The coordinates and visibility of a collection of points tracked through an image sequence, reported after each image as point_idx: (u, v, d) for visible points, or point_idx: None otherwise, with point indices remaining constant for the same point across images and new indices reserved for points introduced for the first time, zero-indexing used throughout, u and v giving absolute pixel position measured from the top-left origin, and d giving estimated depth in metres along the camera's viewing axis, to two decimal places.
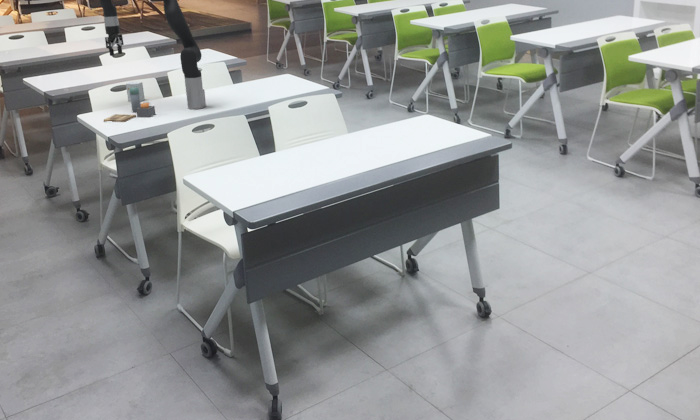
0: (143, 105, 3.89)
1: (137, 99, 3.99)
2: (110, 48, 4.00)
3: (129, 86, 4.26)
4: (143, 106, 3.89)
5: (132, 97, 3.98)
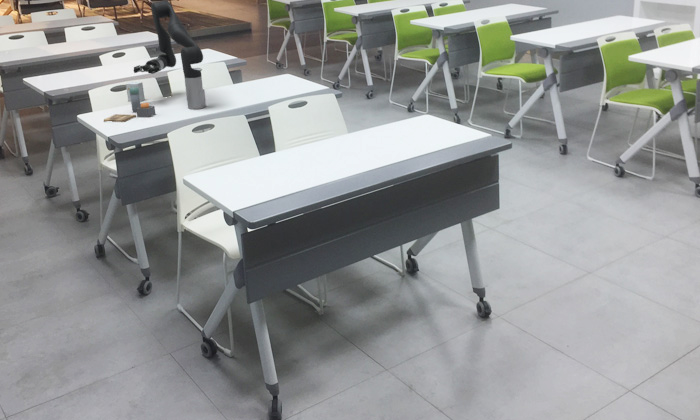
0: (143, 105, 3.89)
1: (137, 99, 3.99)
2: None
3: (129, 86, 4.26)
4: (143, 106, 3.89)
5: (132, 97, 3.98)
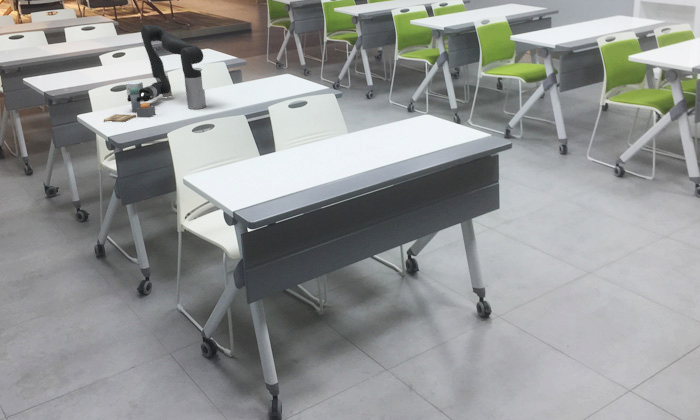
0: (143, 105, 3.89)
1: None
2: (129, 96, 4.03)
3: (129, 86, 4.26)
4: (143, 106, 3.89)
5: (132, 97, 3.98)
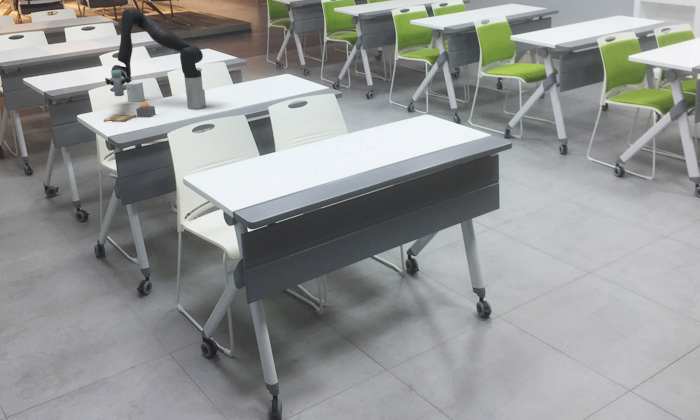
0: (143, 105, 3.89)
1: (121, 82, 3.85)
2: (108, 81, 3.86)
3: (129, 86, 4.26)
4: (143, 106, 3.89)
5: (116, 80, 3.83)
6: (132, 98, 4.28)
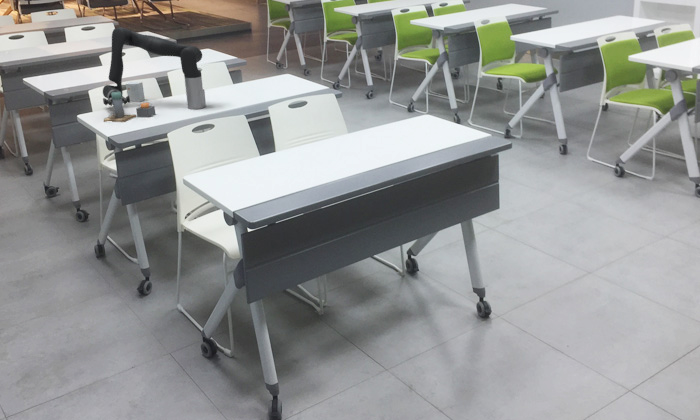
0: (143, 105, 3.89)
1: (122, 104, 3.84)
2: (106, 101, 3.83)
3: (129, 86, 4.26)
4: (143, 106, 3.89)
5: (117, 102, 3.81)
6: (132, 98, 4.28)
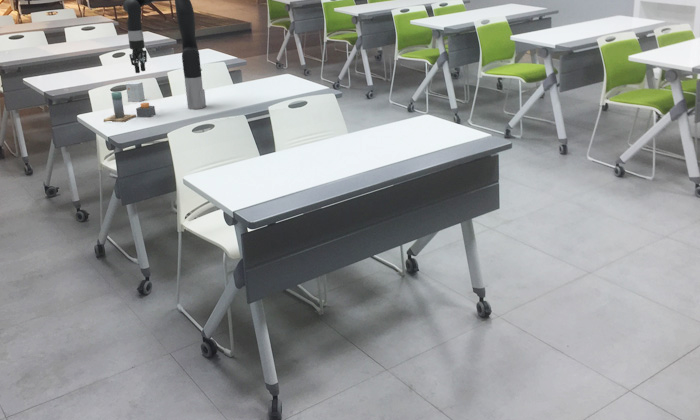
0: (143, 105, 3.89)
1: (122, 104, 3.84)
2: (136, 65, 3.79)
3: (129, 86, 4.26)
4: (143, 106, 3.89)
5: (117, 102, 3.82)
6: (132, 98, 4.28)
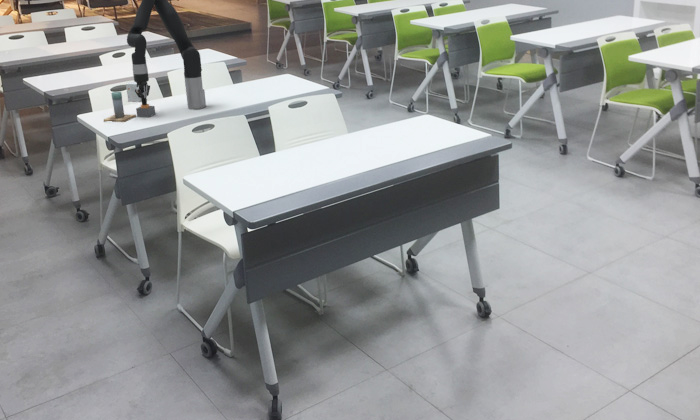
0: (143, 106, 3.89)
1: (122, 104, 3.84)
2: (142, 97, 3.87)
3: (129, 86, 4.26)
4: (143, 107, 3.89)
5: (117, 102, 3.82)
6: (132, 98, 4.28)
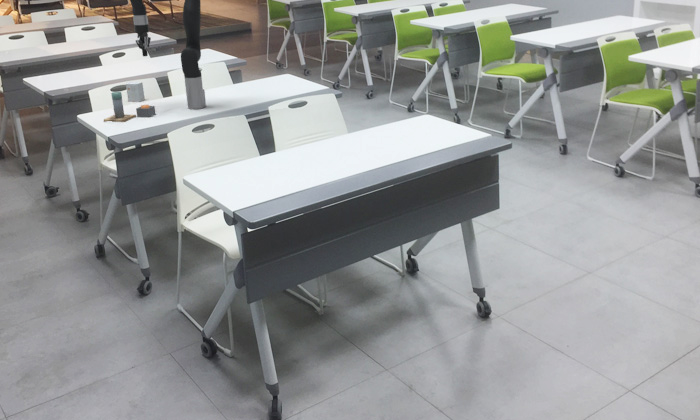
0: (143, 107, 3.89)
1: (122, 104, 3.84)
2: (143, 48, 3.96)
3: (129, 86, 4.26)
4: None
5: (117, 102, 3.82)
6: (132, 98, 4.28)
